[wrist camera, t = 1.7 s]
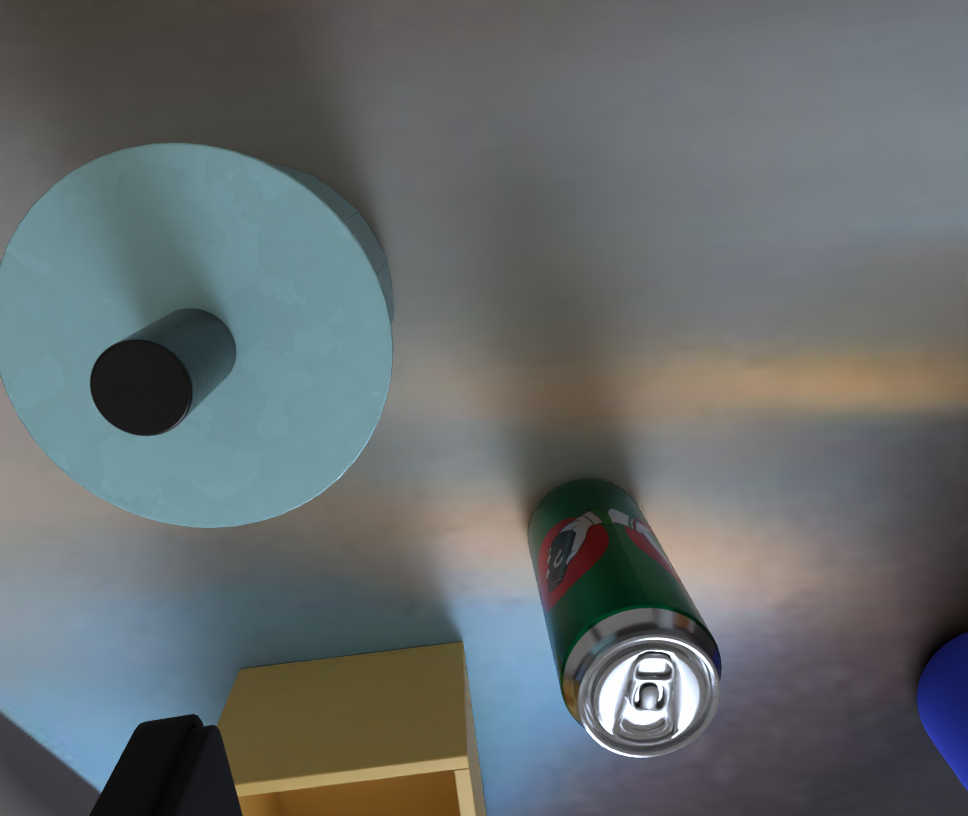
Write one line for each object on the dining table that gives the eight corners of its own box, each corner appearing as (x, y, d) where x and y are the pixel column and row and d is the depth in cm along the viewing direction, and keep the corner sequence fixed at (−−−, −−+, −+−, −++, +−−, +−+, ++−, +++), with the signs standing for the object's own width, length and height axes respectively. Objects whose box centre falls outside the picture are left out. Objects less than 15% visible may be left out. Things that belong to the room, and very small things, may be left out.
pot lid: (-39, 167, 23) (-185, 168, 18) (364, 121, 23) (340, 108, 18) (66, 534, 26) (-31, 628, 21) (417, 491, 27) (411, 574, 21)
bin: (239, 668, 37) (190, 789, 30) (462, 640, 37) (467, 754, 30) (280, 847, 40) (244, 997, 33) (487, 821, 40) (497, 964, 33)
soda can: (521, 577, 36) (557, 767, 25) (530, 470, 35) (573, 620, 23) (633, 580, 37) (720, 770, 25) (647, 475, 35) (745, 626, 24)
